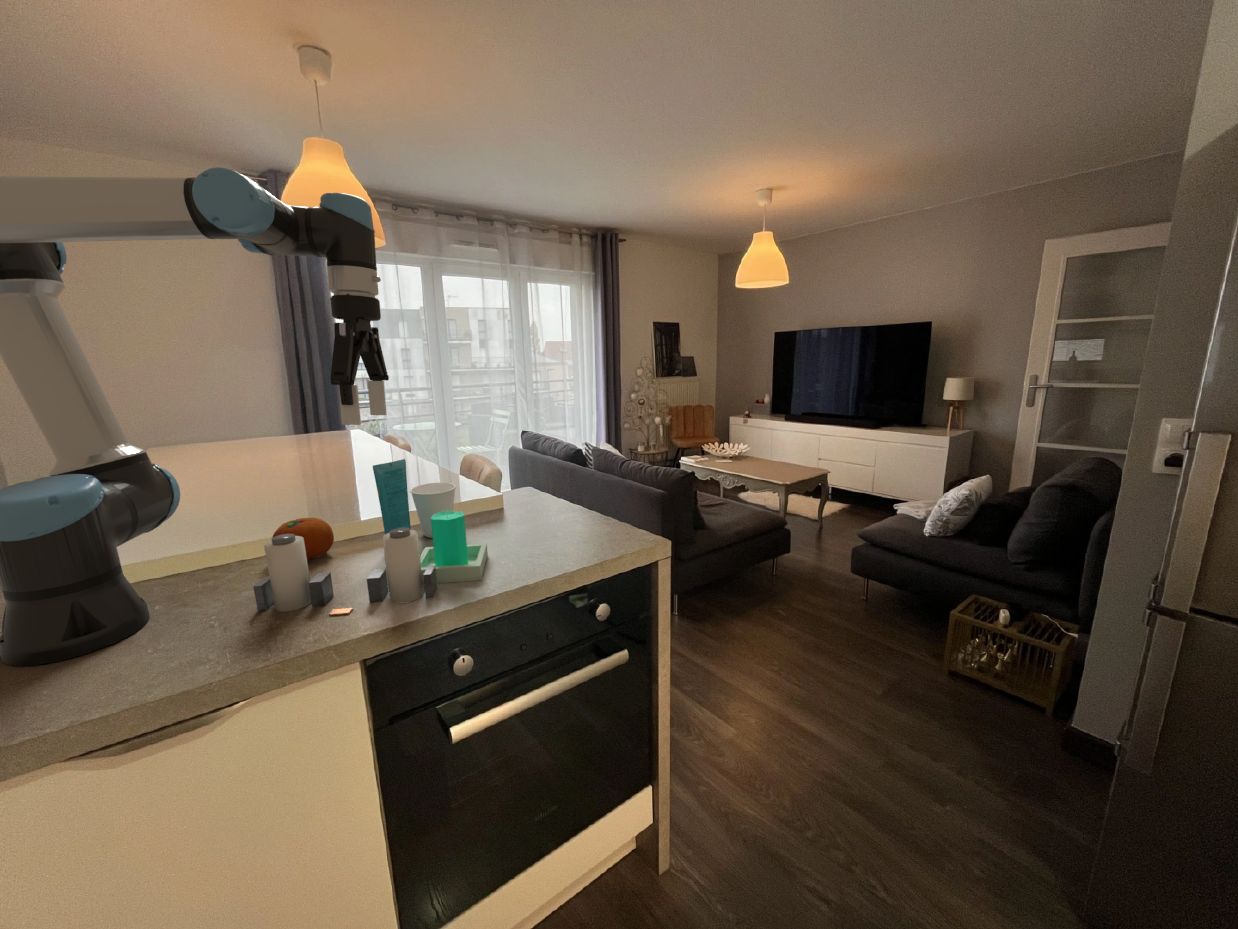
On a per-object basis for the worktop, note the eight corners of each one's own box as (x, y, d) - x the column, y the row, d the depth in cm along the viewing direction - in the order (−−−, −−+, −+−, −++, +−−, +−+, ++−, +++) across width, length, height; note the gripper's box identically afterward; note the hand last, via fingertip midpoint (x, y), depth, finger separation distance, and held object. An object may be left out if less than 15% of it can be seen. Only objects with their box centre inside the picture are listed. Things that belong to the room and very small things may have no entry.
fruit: (327, 544, 109) (322, 509, 108) (342, 557, 102) (337, 520, 100) (269, 558, 102) (263, 521, 100) (281, 573, 95) (274, 534, 93)
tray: (412, 584, 90) (411, 570, 89) (426, 560, 100) (425, 547, 100) (481, 580, 91) (480, 565, 91) (487, 556, 102) (486, 543, 101)
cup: (416, 529, 118) (411, 484, 116) (459, 524, 121) (456, 480, 119) (412, 543, 109) (407, 495, 107) (460, 538, 112) (456, 491, 109)
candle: (458, 574, 92) (453, 513, 90) (429, 572, 93) (423, 511, 91) (473, 561, 98) (469, 503, 95) (445, 559, 99) (440, 501, 96)
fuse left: (268, 613, 80) (255, 544, 78) (285, 597, 86) (274, 532, 83) (304, 610, 81) (293, 542, 78) (318, 594, 86) (308, 530, 84)
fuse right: (385, 604, 83) (377, 537, 80) (395, 589, 88) (387, 526, 85) (419, 601, 84) (412, 535, 81) (426, 587, 89) (420, 524, 86)
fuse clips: (245, 622, 78) (240, 596, 77) (269, 600, 84) (265, 576, 83) (428, 608, 81) (425, 583, 80) (437, 588, 88) (435, 565, 87)
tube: (405, 542, 110) (396, 457, 106) (421, 545, 108) (413, 459, 104) (376, 554, 103) (365, 464, 99) (393, 558, 101) (383, 466, 97)
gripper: (350, 287, 73) (363, 429, 78) (399, 303, 98) (407, 411, 102) (295, 285, 72) (311, 429, 77) (358, 302, 97) (368, 411, 101)
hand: (366, 419), depth 90 cm, fingers open, 13 cm apart
